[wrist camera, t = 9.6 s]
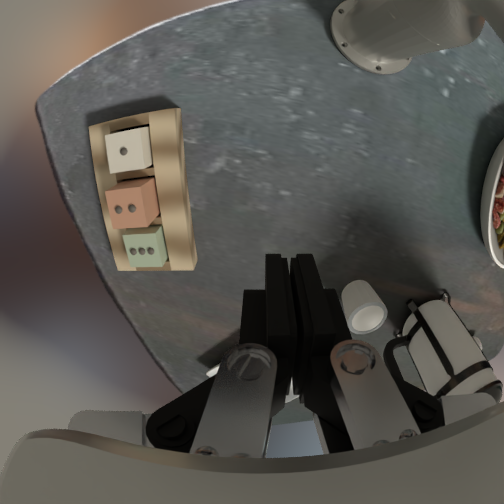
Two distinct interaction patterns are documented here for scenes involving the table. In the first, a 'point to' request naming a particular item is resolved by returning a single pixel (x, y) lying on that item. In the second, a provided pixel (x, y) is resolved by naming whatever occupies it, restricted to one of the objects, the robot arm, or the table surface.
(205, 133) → the table surface
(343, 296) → the shot glass
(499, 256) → the bowl
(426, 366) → the coffee press
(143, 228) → the green dice block
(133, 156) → the white dice block
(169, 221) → the wooden dice block tray
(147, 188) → the tan dice block
